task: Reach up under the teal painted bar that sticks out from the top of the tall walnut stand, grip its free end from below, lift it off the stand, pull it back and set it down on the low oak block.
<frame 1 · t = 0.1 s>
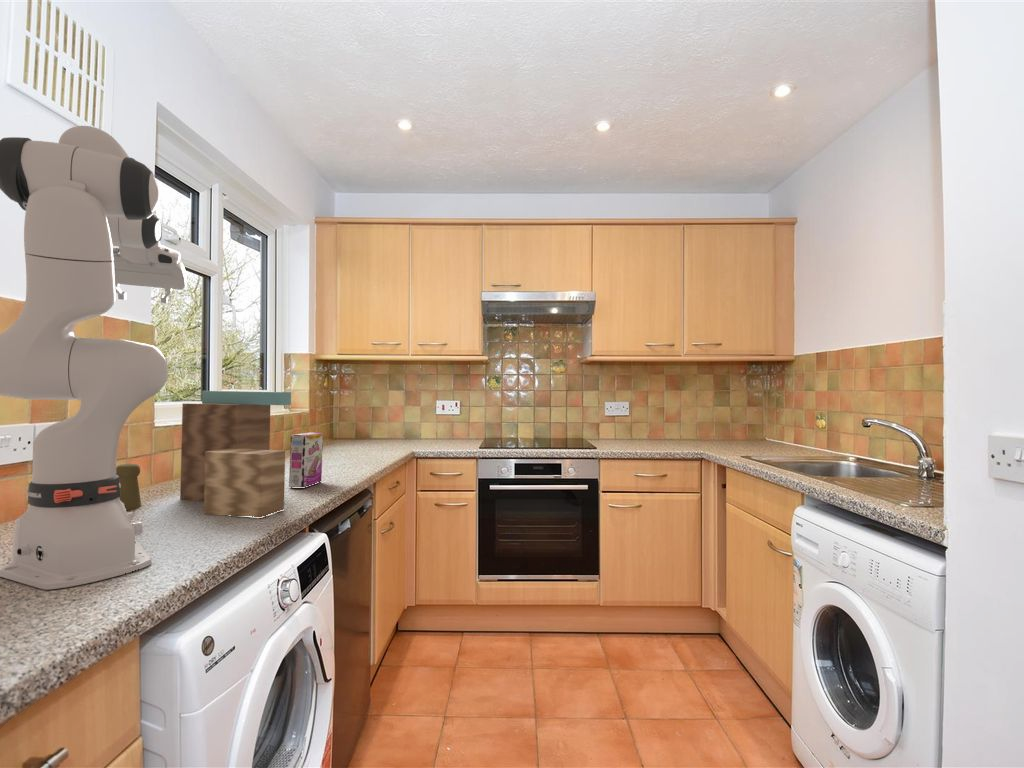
hand: (143, 300, 136), 54 cm above the countertop, tool tilted 30°, fingers open, 8 cm apart
oak block: (244, 512, 121), on the countertop
walnut stand: (225, 496, 138), on the countertop
candy bar box: (306, 486, 155), on the countertop
cork: (126, 508, 123), on the countertop
teal bar: (245, 404, 137), point 26 cm above the countertop, touching walnut stand
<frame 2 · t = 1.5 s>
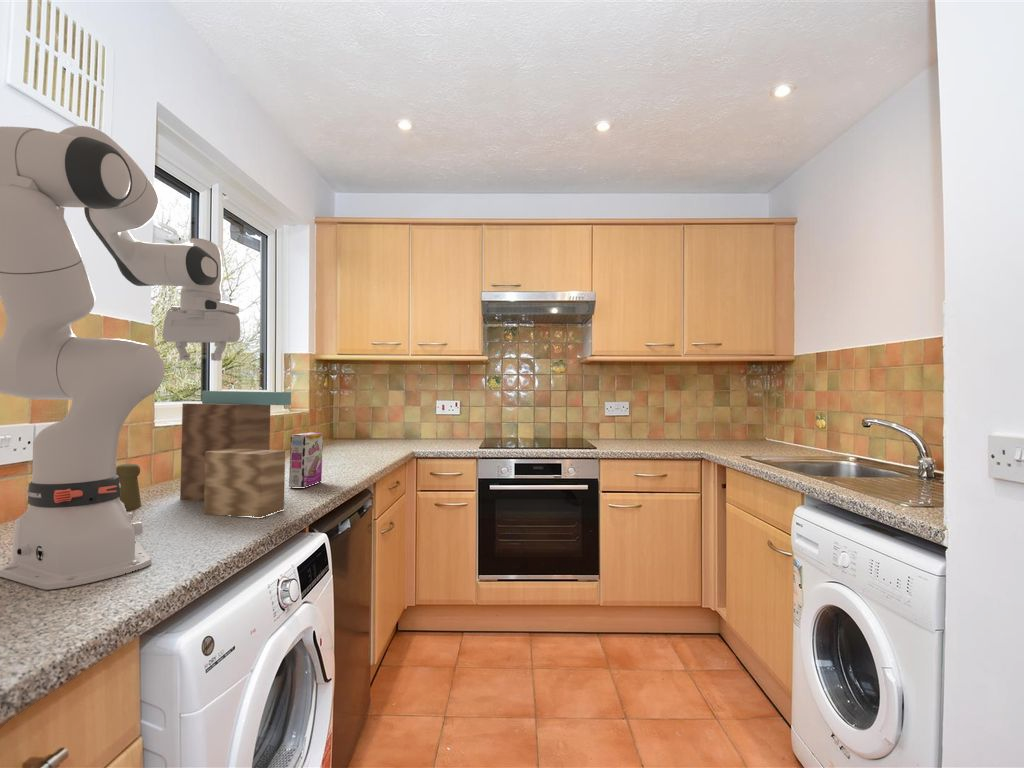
hand: (200, 360, 124), 37 cm above the countertop, tool pointing down, fingers open, 8 cm apart
nothing on the countertop moved.
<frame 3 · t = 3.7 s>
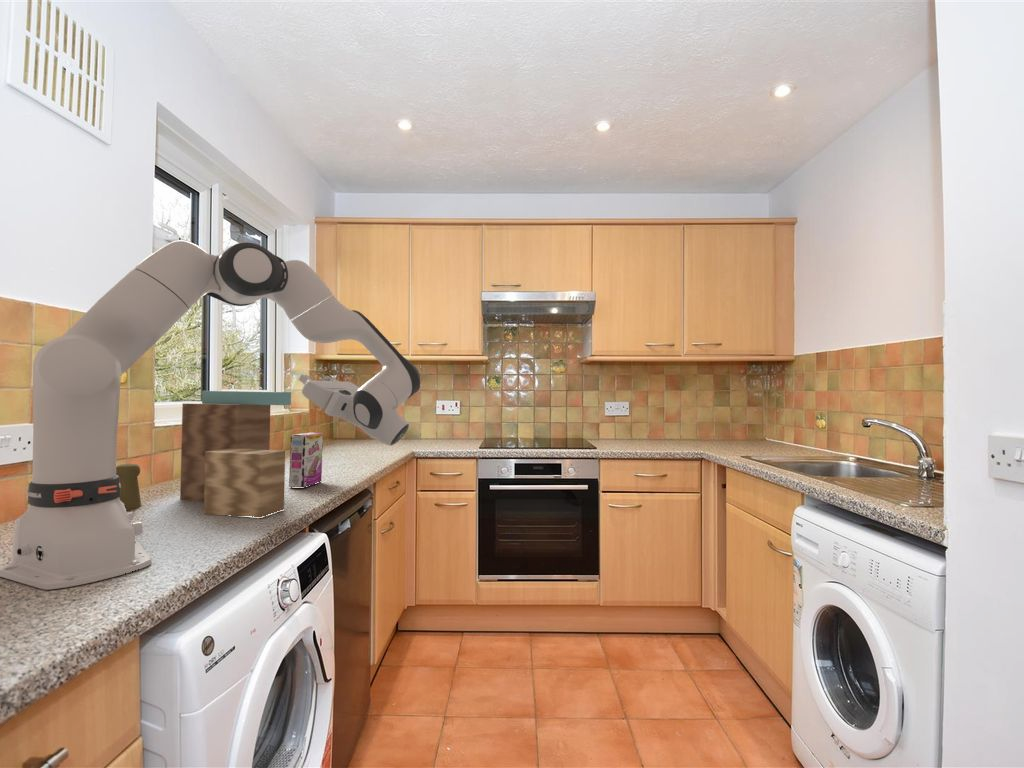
hand: (313, 377, 132), 34 cm above the countertop, tool pointing upward, fingers open, 8 cm apart
nothing on the countertop moved.
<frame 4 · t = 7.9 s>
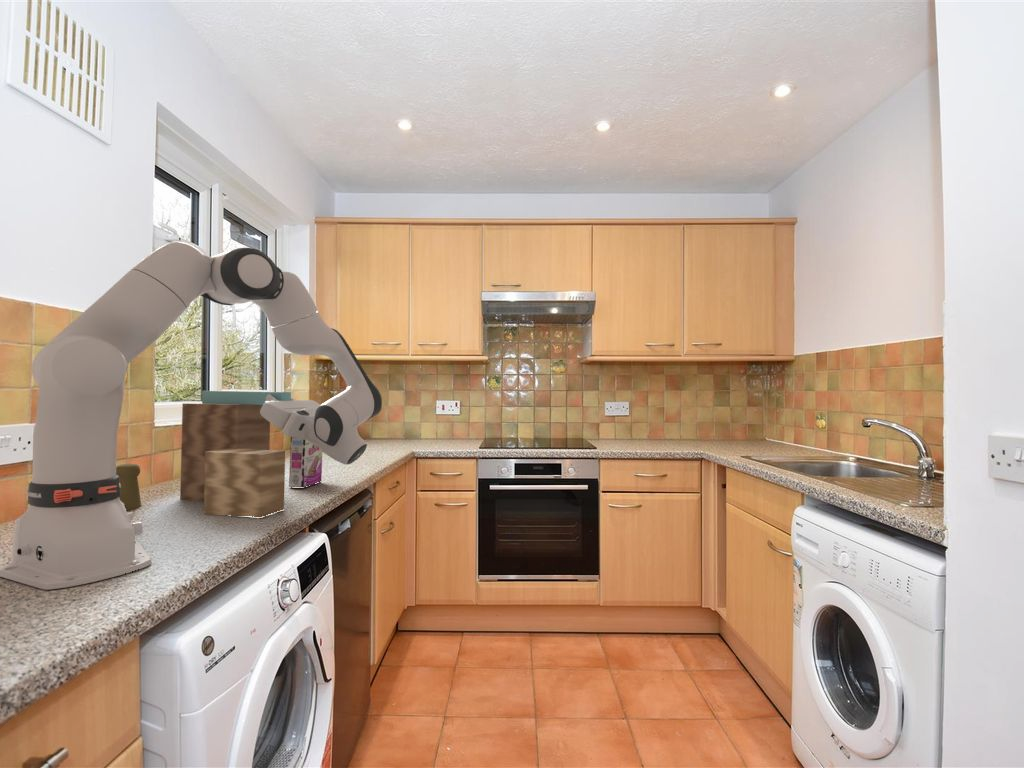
hand: (274, 396, 134), 28 cm above the countertop, tool pointing upward, fingers closed on teal bar, 3 cm apart
teal bar: (245, 404, 137), point 26 cm above the countertop, touching gripper, walnut stand
everything else where it was.
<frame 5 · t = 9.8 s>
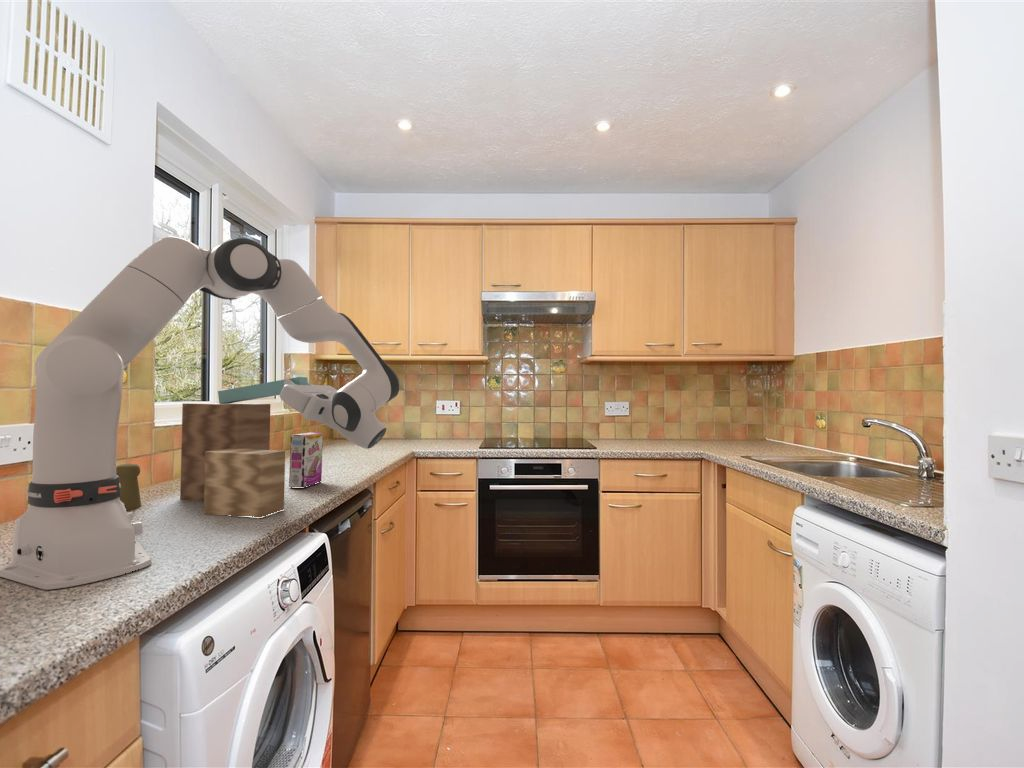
hand: (292, 381, 133), 32 cm above the countertop, tool pointing upward, fingers closed on teal bar, 3 cm apart
teal bar: (263, 396, 135), point 28 cm above the countertop, tilted 9°, touching gripper
everything else where it was.
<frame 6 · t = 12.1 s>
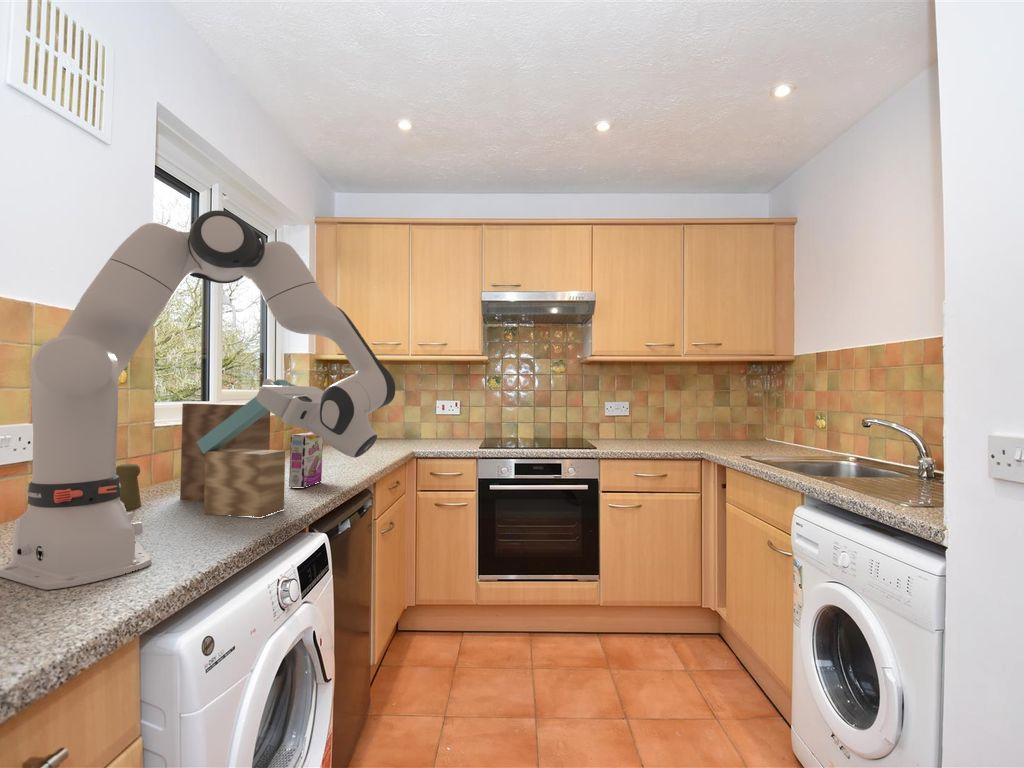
hand: (272, 381, 120), 32 cm above the countertop, tool pointing upward, fingers closed on teal bar, 4 cm apart
teal bar: (248, 422, 120), point 22 cm above the countertop, tilted 37°, touching gripper, oak block
everything else where it was.
when the fingers open (19 cm above the countertop, at t = 15.6 s): teal bar stays where it is, resting on oak block.
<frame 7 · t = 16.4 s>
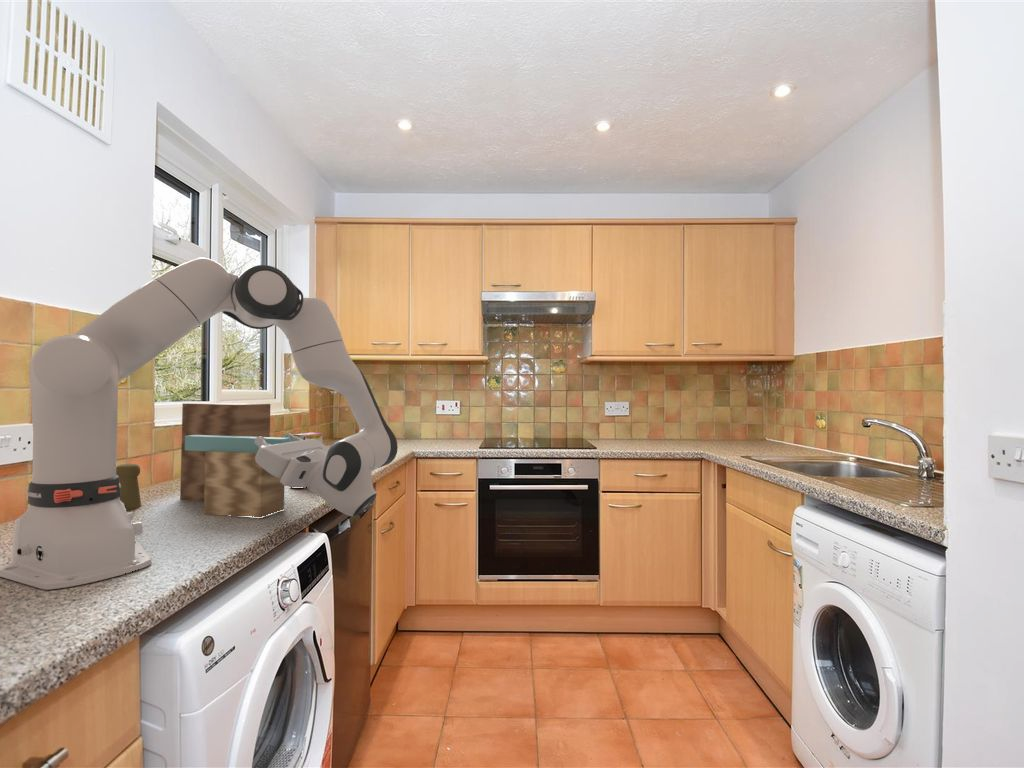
hand: (271, 437, 119), 19 cm above the countertop, tool pointing upward, fingers open, 8 cm apart
teal bar: (237, 451, 121), point 15 cm above the countertop, touching oak block
everything else where it was.
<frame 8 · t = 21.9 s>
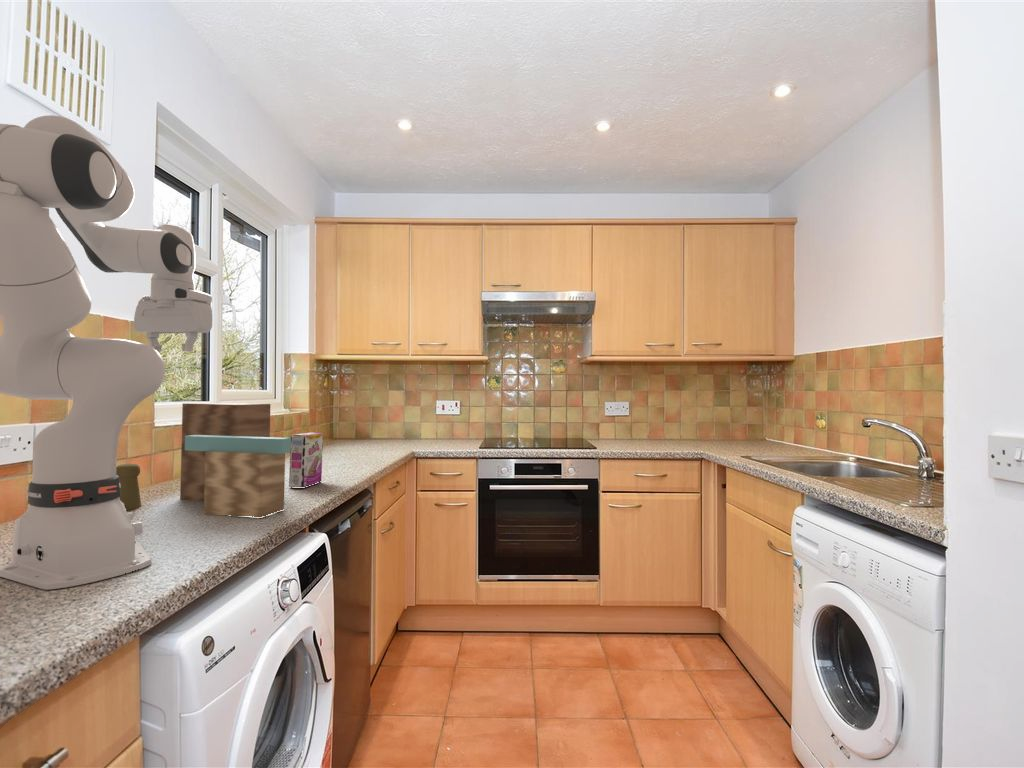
hand: (171, 351, 120), 39 cm above the countertop, tool pointing down, fingers open, 8 cm apart
nothing on the countertop moved.
at the end: teal bar inside the target area on the oak block (0.8 cm from its centre), point 15.0 cm above the oak block's base; the gripper is holding nothing; teal bar touching oak block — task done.
